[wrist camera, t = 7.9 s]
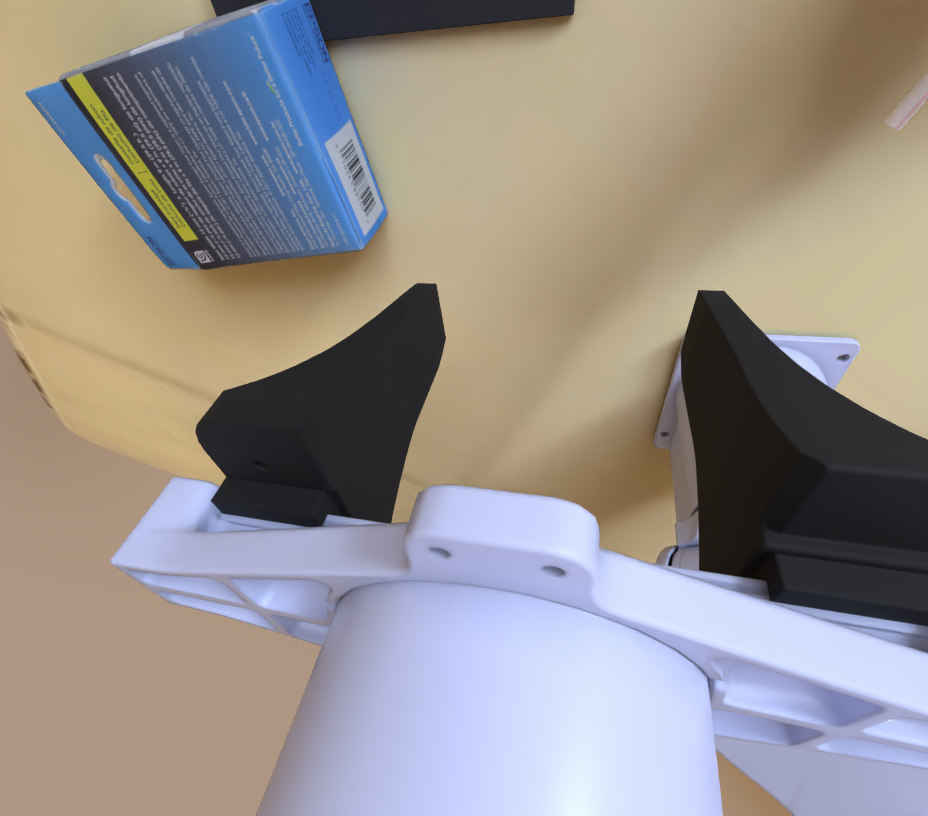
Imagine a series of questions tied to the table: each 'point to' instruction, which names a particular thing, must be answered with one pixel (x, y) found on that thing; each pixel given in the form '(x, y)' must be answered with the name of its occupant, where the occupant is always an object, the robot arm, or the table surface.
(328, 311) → the table surface
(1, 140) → the table surface
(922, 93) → the smoothie
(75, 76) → the label tape box
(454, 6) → the mat
